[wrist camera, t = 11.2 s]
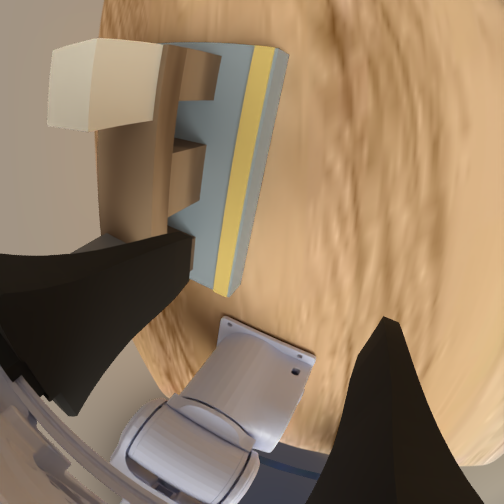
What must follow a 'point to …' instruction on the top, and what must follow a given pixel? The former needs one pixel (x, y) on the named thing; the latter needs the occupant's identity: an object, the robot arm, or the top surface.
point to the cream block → (103, 84)
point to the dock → (229, 157)
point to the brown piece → (155, 154)
